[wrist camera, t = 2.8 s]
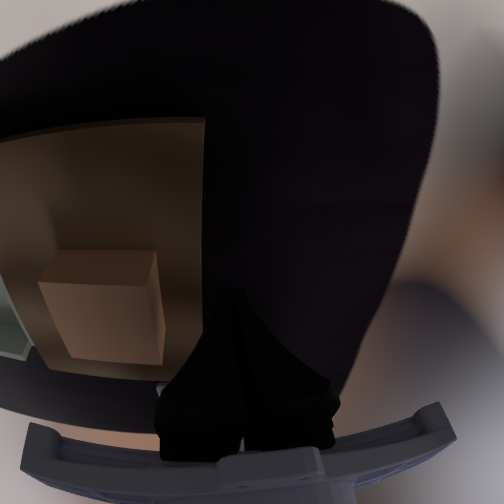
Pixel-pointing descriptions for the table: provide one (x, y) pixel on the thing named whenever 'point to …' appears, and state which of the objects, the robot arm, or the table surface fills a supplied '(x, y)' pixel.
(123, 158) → the board
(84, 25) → the table surface
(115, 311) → the block
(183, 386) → the robot arm
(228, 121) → the table surface
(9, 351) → the box
